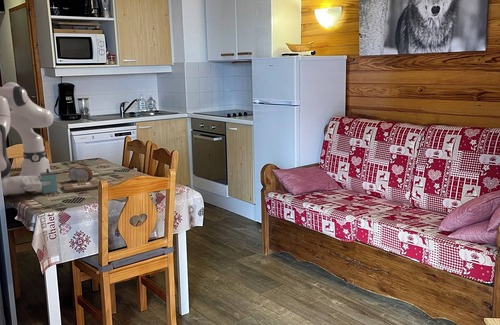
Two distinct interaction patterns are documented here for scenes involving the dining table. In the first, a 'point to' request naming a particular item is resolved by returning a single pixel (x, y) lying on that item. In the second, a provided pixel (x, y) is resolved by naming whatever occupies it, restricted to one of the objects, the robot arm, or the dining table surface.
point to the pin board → (80, 186)
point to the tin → (80, 173)
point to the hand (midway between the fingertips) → (49, 181)
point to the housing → (53, 182)
